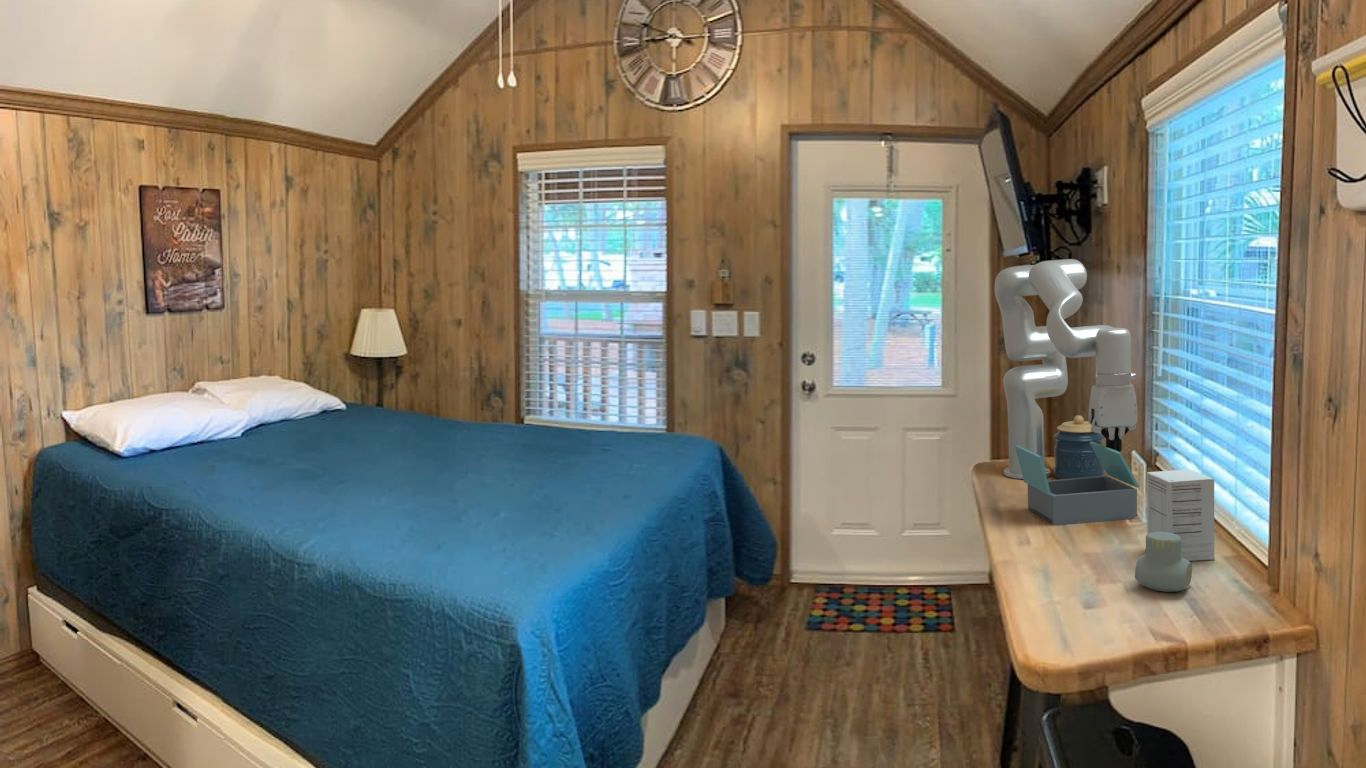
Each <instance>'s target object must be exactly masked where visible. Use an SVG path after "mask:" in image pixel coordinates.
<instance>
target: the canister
mask: <svg viewBox="0 0 1366 768" xmlns="http://www.w3.org/2000/svg"><path fill="white" fill-rule="evenodd" d="M1091 426H1092V425H1091V424H1090V423H1089V420H1087V421H1086V420H1084V417H1083V415H1079V414H1078V415H1075V416H1074V417H1073V420H1072V421H1070V420H1069V421H1065V422H1062V423H1061V424H1060V425H1058V426H1056V430H1057V432H1056V433H1055V434H1054V435H1053V438H1054V439H1055V445H1054V447H1053V449H1054V467H1053V468H1054V474H1055V477H1056V478H1057V479H1058V480H1060V479H1073V478H1085V477H1097V476H1105V474H1106V471H1105V470H1104V468H1103V466H1102V464H1101V462H1100V461H1099V459H1098V457H1097V455H1096V453H1095V452H1094V450H1093V448H1092V446H1091V444H1090V443H1089V442H1091V441H1092V442H1095V443H1097V444H1100V445H1103V446H1104V443H1103V441H1104V439H1105V438H1104V436H1103V435H1102V434H1101V433H1095V432H1092V431H1091ZM1099 428H1100V427H1099Z"/></svg>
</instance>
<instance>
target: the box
mask: <svg viewBox="0 0 1366 768" xmlns="http://www.w3.org/2000/svg"><path fill="white" fill-rule="evenodd" d="M1047 480H1048V479H1047ZM1048 484H1049V488H1050V492H1051V495H1047V494H1045V493H1044V492H1042V491H1040V490H1038V489H1036V488H1035V487H1033V486H1031V485H1029V484H1027V509H1028V510H1029V511H1030V512H1031V513H1034V514H1036V516H1038V517H1040V518H1042V519H1043V520H1044V521H1046V522H1048V523H1049V524H1051V525H1052V526H1059V525H1060V526H1061V525H1074V524H1075V525H1076V524H1083V523H1082V522H1087V523H1095V522H1094V521H1099V522H1109V521H1110V522H1111V521H1121V520H1132V519H1131V518H1135V517H1137V518H1138V490H1137V488H1136V487H1132V486H1131V485H1129V484H1127V483H1126V484H1125V483H1124V482H1122V481H1120V480H1118V479H1115V478H1113V477H1111V476H1109V475H1104V476H1097V477H1085V478H1073V479H1049V480H1048ZM1135 519H1136V518H1135Z"/></svg>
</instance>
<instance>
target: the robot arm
mask: <svg viewBox="0 0 1366 768" xmlns="http://www.w3.org/2000/svg"><path fill="white" fill-rule="evenodd" d="M1087 279H1088V273H1087V269H1086V267H1085V266H1084V264H1083V263H1082V262H1081V261H1079V260H1077V259H1074V258H1066V259H1065V258H1063V259H1054V260H1053V259H1051V260H1044V261H1041V262H1040V261H1039V262H1038V263H1035V264H1027V265H1015V266H1009V267H1007V268H1004V269H1002V270H1001V271H999V273H997V275H996V278H995V281H994V295H995V300H996V302H997V305H998V307H999V310H1000V313H1001V320H1002V330H1003V339H1004V347H1005V353H1006V356H1007V358H1008V359H1009V360H1010V361H1013V362H1029V361H1030V362H1031V361H1041V362H1042V364H1030V365H1022V366H1021V365H1020V366H1016V367H1012V368H1011V369H1010V368H1009V370H1007V371H1006V372H1005V374H1004V376H1003V377H1002V378H1003V380H1002V383H1003V388H1004V389H1003V390H1004V393H1005V399H1006V406H1007V409H1006V410H1007V431H1008V433H1007V434H1008V466H1007V468H1006V467H1005V468H1004V469H1003V475H1004V476H1005V477H1008V478H1012V479H1018V480H1024V479H1023V475H1022V471H1021V468H1020V464H1019V460H1018V456H1017V452H1016V449H1015V445H1018V446H1020V447H1022V448H1025V449H1027V450H1029V451H1031V452H1033V453H1035V454H1037V455H1039V456H1041V457H1042V461H1043V465H1044V469H1045V472H1046V476H1047V478H1048V477H1050V476H1051V470H1050V469H1049V468H1047V467H1045V427H1044V426H1045V424H1044V423H1045V422H1044V421H1045V420H1044V413H1043V410H1042V409H1041V407H1040V406H1039V404H1038V403H1037V402H1036V399H1043V398H1052V397H1053V398H1054V397H1058V396H1062V395H1063V394H1065V392H1066V391H1067V388H1068V385H1069V378H1068V377H1069V375H1068V365H1067V358H1069V359H1080V358H1087V357H1088V358H1089V357H1095V385H1092V387H1091V391H1090V396H1089V404H1088V422H1089V423H1090V424H1091V425H1092V426H1091V431H1092V432H1095V433H1101V434H1102V435H1103V436H1104V439H1105V447H1108V448H1111V449H1113V450H1116V451H1118V452H1121V453H1122V449H1123V448H1122V447H1123V445H1122V444H1123V443H1122V441H1123V439H1124V438H1125V436H1126V434H1127V433H1128V432H1131V431H1133V430H1137V429H1138V428H1137V427H1138V426H1137V423H1138V416H1139V415H1138V414H1139V413H1138V402H1137V395H1136V391H1135V387H1134V384H1132V382H1133V381H1132V380H1135V379H1136V377H1137V376H1136V373H1132V366H1131V365H1132V364H1131V363H1132V362H1131V361H1132V358H1131V356H1132V355H1131V351H1132V350H1131V349H1132V345H1131V343H1132V342H1131V341H1132V339H1131V332H1130V331H1129V329H1128V328H1126V327H1125V328H1123V327H1114V326H1111V325H1107V324H1101V325H1100V324H1097V325H1087V326H1086V325H1084V326H1077V327H1070V326H1069V325H1068V323H1067V322H1066V321H1065V320H1066V319H1067V318H1069V317H1071V316H1072V315H1074V314H1075V313H1076V312H1077V311H1079V309H1080V308H1081V306H1082V305H1083V301H1084V300H1083V299H1084V298H1083V295H1082V293H1081V292H1080V291H1079V290H1080V289H1083V288H1084V286H1085V285H1086V283H1087ZM1027 296H1039V298H1040V299H1041V301H1042V302H1043V303H1044V305H1045V307H1047V309H1048V313H1047V317H1046V322H1045V323H1046V325H1042V326H1041V325H1040V326H1036V323H1035V316H1034V310H1033V309H1032V307H1031V305H1030V304H1029V303H1028V301H1027V300H1026V299H1024V297H1027ZM1099 427H1100V428H1099Z"/></svg>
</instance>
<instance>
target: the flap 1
mask: <svg viewBox="0 0 1366 768" xmlns="http://www.w3.org/2000/svg"><path fill="white" fill-rule="evenodd" d="M1015 449H1016V452H1017V456H1018V460H1019V464H1020V468H1021V471H1022V475H1023V479H1022V480H1023V481H1024V483H1026V484H1027V485H1028V484H1029V485H1031V486H1033V487H1035V488H1036V489H1038V490H1040V491H1042V492H1044V493H1045V494H1047V495H1051V492H1050V488H1049V484H1048V477H1047V476H1046V472H1045V469H1044V466H1045V464H1044V465H1043V461H1042V457H1041V456H1039V455H1037V454H1035V453H1033V452H1031V451H1029V450H1027V449H1025V448H1022V447H1020V446H1018V445H1015Z"/></svg>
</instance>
